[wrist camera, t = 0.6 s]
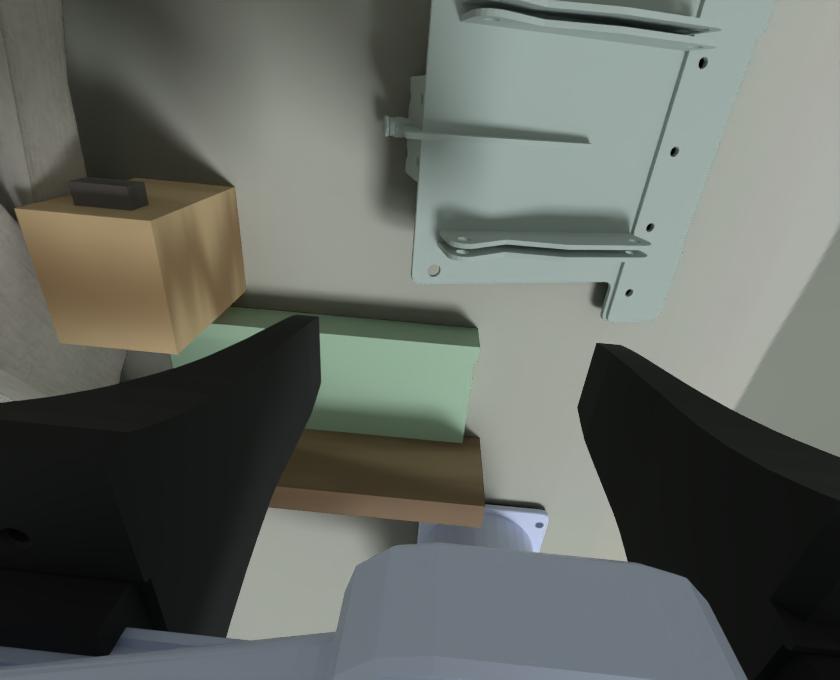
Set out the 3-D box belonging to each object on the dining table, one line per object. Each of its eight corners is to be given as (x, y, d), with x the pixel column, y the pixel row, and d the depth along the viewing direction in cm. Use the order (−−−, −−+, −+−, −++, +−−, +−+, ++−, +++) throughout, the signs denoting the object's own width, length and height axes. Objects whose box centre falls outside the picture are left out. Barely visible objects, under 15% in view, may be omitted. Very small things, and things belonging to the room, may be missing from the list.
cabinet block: (246, 290, 23) (177, 354, 17) (158, 281, 23) (59, 342, 17) (232, 167, 20) (145, 195, 14) (132, 158, 20) (5, 182, 14)
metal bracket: (396, 350, 17) (430, -221, 10) (374, 291, 22) (388, -122, 15) (703, 335, 21) (889, -103, 14) (625, 287, 26) (733, -53, 19)
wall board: (476, 457, 27) (481, 527, 22) (177, 429, 27) (124, 493, 23) (479, 437, 26) (485, 506, 22) (172, 409, 26) (117, 471, 22)
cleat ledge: (462, 436, 26) (463, 460, 24) (189, 410, 26) (170, 432, 25) (477, 328, 23) (480, 347, 21) (165, 300, 23) (142, 317, 21)
